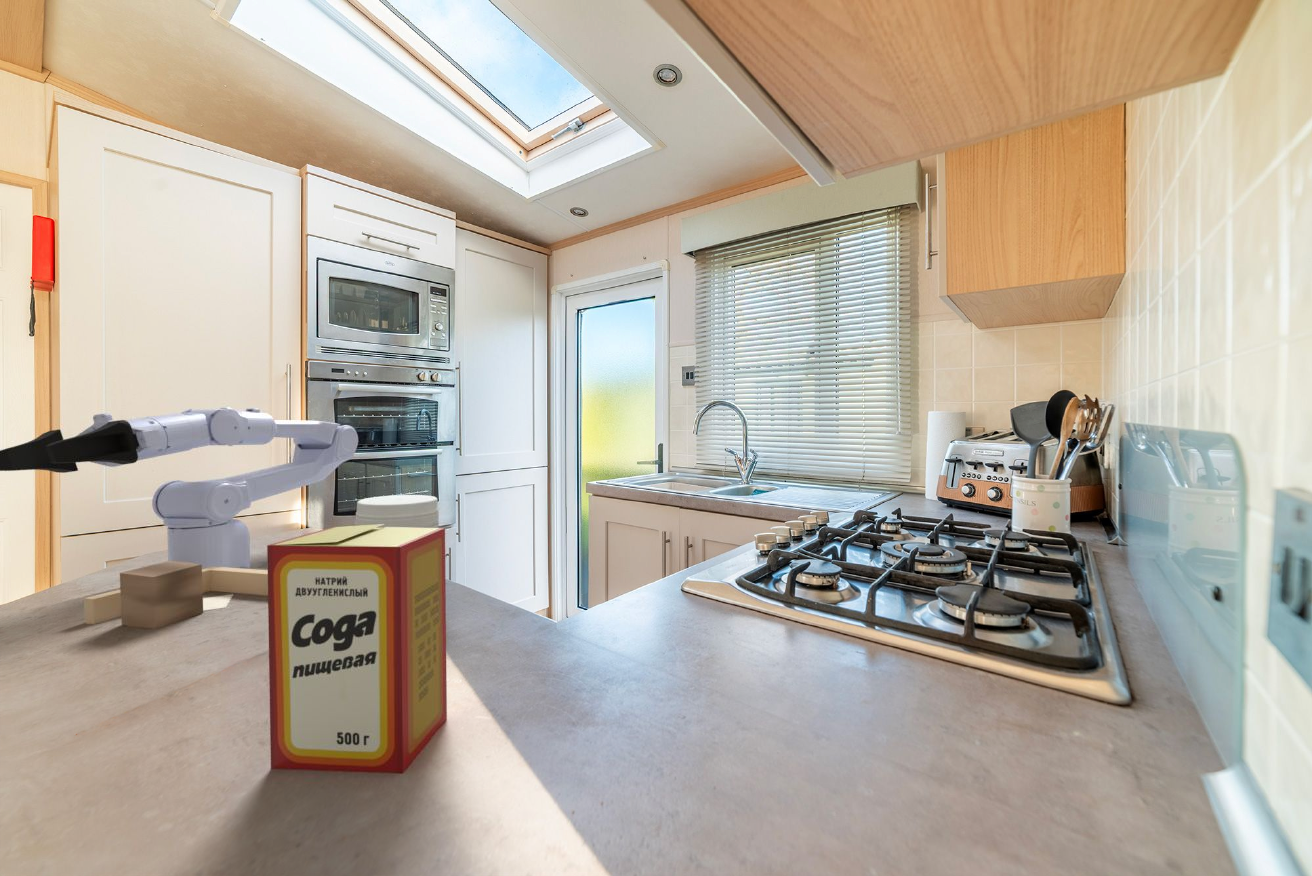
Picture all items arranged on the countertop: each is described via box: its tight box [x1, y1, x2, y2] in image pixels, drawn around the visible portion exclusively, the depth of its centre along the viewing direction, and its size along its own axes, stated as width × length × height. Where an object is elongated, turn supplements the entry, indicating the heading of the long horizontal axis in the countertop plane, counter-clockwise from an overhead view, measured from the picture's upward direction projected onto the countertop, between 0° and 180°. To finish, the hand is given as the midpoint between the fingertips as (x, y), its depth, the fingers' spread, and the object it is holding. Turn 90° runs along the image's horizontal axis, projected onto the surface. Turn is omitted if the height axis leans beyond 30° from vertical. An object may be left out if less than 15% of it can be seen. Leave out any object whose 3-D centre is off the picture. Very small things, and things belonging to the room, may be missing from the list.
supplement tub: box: [354, 494, 440, 528], centre depth 66 cm, size 10×10×15 cm
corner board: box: [83, 566, 268, 625], centre depth 64 cm, size 14×19×4 cm
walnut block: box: [119, 560, 204, 630], centre depth 60 cm, size 5×5×6 cm
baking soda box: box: [266, 524, 448, 774], centre depth 39 cm, size 10×6×16 cm
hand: (22, 458), depth 59 cm, fingers open, 7 cm apart
